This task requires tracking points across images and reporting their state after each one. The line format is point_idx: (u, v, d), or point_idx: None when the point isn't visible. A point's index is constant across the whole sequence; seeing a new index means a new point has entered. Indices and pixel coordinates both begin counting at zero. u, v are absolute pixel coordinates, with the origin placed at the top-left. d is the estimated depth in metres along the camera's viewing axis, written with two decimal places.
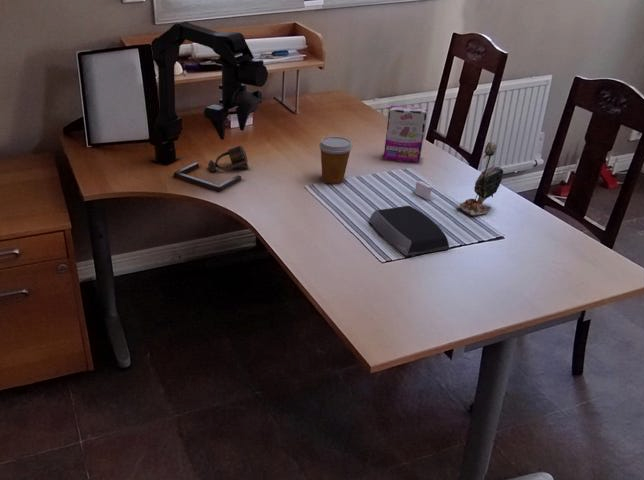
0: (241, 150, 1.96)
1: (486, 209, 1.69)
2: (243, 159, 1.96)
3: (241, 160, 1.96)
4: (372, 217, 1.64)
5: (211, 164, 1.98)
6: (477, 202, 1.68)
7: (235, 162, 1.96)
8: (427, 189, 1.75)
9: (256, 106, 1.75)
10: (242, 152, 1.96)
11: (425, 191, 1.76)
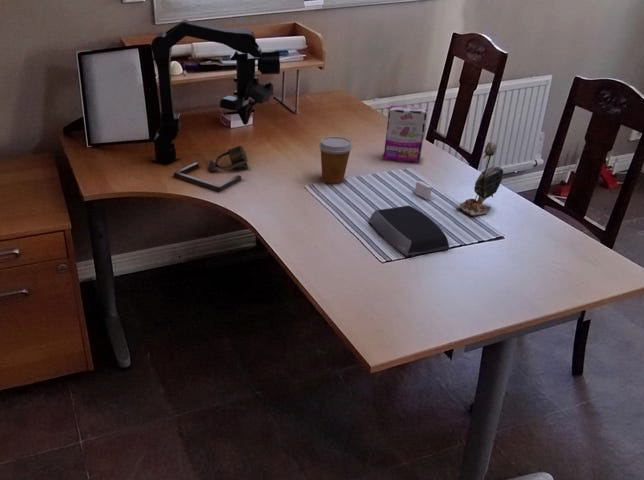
0: (241, 150, 1.96)
1: (486, 209, 1.69)
2: (243, 159, 1.96)
3: (241, 160, 1.96)
4: (372, 217, 1.64)
5: (211, 164, 1.98)
6: (477, 202, 1.68)
7: (235, 162, 1.96)
8: (427, 189, 1.75)
9: (268, 97, 1.91)
10: (242, 152, 1.96)
11: (425, 191, 1.76)
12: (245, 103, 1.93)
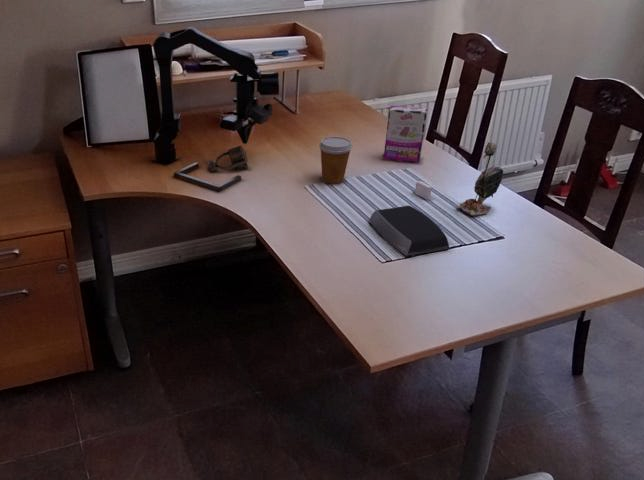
0: (241, 150, 1.96)
1: (486, 209, 1.69)
2: (243, 159, 1.96)
3: (241, 160, 1.96)
4: (372, 217, 1.64)
5: (211, 164, 1.98)
6: (477, 202, 1.68)
7: (235, 162, 1.96)
8: (427, 189, 1.75)
9: (267, 118, 1.94)
10: (242, 152, 1.96)
11: (425, 191, 1.76)
12: (245, 123, 1.96)
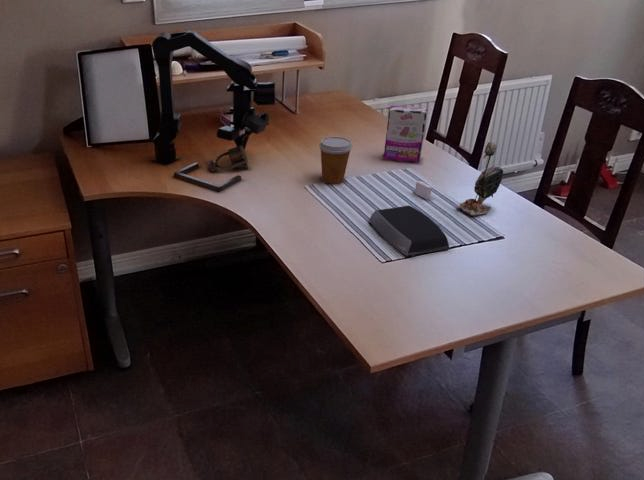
0: (241, 150, 1.96)
1: (486, 209, 1.69)
2: (243, 159, 1.96)
3: (241, 160, 1.96)
4: (372, 217, 1.64)
5: (211, 164, 1.98)
6: (477, 202, 1.68)
7: (235, 162, 1.96)
8: (427, 189, 1.75)
9: (264, 127, 1.95)
10: (242, 152, 1.96)
11: (425, 191, 1.76)
12: (241, 133, 1.97)
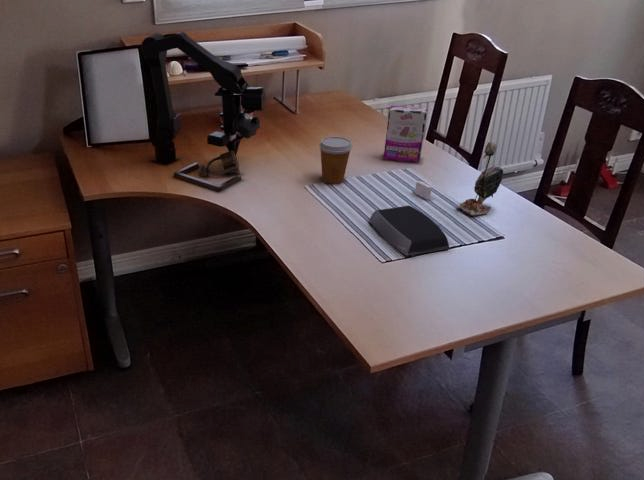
0: (232, 155, 1.93)
1: (486, 209, 1.69)
2: (234, 164, 1.93)
3: (232, 165, 1.93)
4: (372, 217, 1.64)
5: (202, 169, 1.95)
6: (477, 202, 1.68)
7: (226, 167, 1.93)
8: (427, 189, 1.75)
9: (255, 131, 1.91)
10: (233, 157, 1.93)
11: (425, 191, 1.76)
12: (233, 138, 1.93)
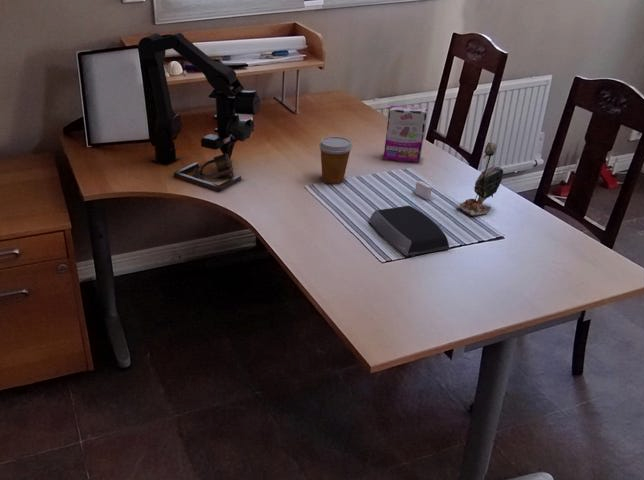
0: (226, 158, 1.91)
1: (486, 209, 1.69)
2: (228, 167, 1.91)
3: (226, 168, 1.91)
4: (372, 217, 1.64)
5: (195, 172, 1.93)
6: (477, 202, 1.68)
7: (220, 170, 1.91)
8: (427, 189, 1.75)
9: (249, 134, 1.89)
10: (227, 160, 1.91)
11: (425, 191, 1.76)
12: (227, 140, 1.91)
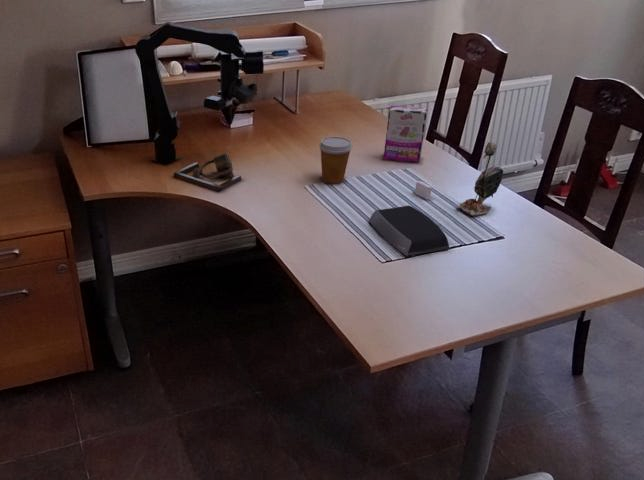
0: (226, 158, 1.91)
1: (486, 209, 1.69)
2: (228, 167, 1.91)
3: (226, 168, 1.91)
4: (372, 217, 1.64)
5: (195, 172, 1.93)
6: (477, 202, 1.68)
7: (220, 170, 1.91)
8: (427, 189, 1.75)
9: (251, 97, 1.91)
10: (227, 160, 1.91)
11: (425, 191, 1.76)
12: (229, 103, 1.94)
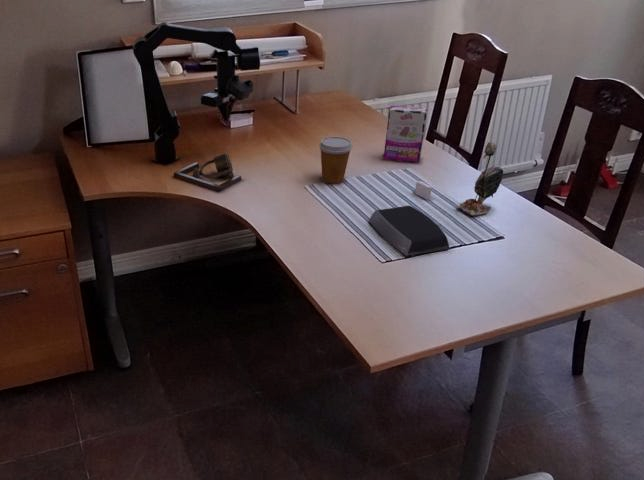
0: (226, 158, 1.91)
1: (486, 209, 1.69)
2: (228, 167, 1.91)
3: (226, 168, 1.91)
4: (372, 217, 1.64)
5: (195, 172, 1.93)
6: (477, 202, 1.68)
7: (220, 170, 1.91)
8: (427, 189, 1.75)
9: (248, 94, 1.94)
10: (227, 160, 1.91)
11: (425, 191, 1.76)
12: (225, 100, 1.96)
